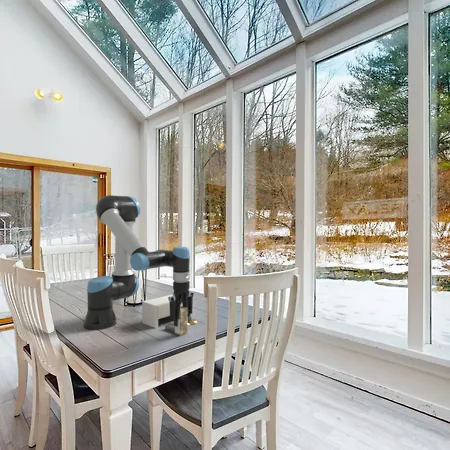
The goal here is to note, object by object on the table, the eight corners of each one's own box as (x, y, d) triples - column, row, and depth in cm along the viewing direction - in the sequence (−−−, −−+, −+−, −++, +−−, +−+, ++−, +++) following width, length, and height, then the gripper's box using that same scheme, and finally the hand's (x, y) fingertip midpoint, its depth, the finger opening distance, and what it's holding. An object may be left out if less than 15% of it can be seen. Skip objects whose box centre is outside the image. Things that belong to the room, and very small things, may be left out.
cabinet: (155, 328, 154) (155, 305, 153) (142, 323, 161) (142, 301, 161) (189, 317, 170) (189, 297, 170) (176, 313, 178) (176, 293, 177)
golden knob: (186, 328, 155) (186, 325, 155) (179, 326, 157) (179, 324, 157) (192, 325, 159) (192, 323, 159) (185, 323, 161) (185, 321, 161)
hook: (180, 336, 144) (180, 309, 143) (163, 329, 152) (163, 304, 151) (206, 326, 157) (207, 301, 156) (189, 320, 165) (189, 297, 164)
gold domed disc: (193, 325, 159) (193, 323, 159) (187, 323, 161) (187, 321, 161) (199, 323, 162) (199, 320, 162) (192, 321, 165) (192, 319, 165)
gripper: (171, 285, 137) (171, 338, 138) (200, 279, 150) (200, 328, 150) (161, 282, 142) (161, 334, 143) (189, 277, 155) (189, 324, 155)
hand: (181, 331), depth 147 cm, fingers closed on hook, 4 cm apart
